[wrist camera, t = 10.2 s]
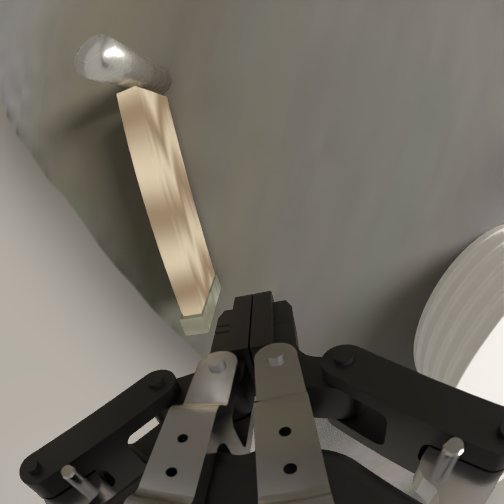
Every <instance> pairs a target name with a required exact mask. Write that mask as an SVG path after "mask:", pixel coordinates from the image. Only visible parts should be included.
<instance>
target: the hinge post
mask: <svg viewBox="0 0 504 504" xmlns="http://www.w3.org/2000/svg"><path fill="white" fill-rule="evenodd" d="M75 67H76V71H77V72H78V74H79V75H80V76H82V77H84V78H88V79H92V80H96V81H100V82H104V83H108V84H111V85H115V86H119V87H122V88H126V89H129V88H132V87H134V86H137V87H140V88H143V89H146V90H149V91H152V92H154V93H157V94H160V95H162V94H164V93H165V92H166V91H167V90H168V89H169V87H170V85H171V75H170V73H169V72H168V71H167V70H166V69H164V68H163V67H161V66H159V65H158V64H156V63H154V62H153V61H151V60H149V59H148V58H146V57H144V56H143V55H141V54H139V53H137V52H136V51H134V50H132V49H130V48H129V47H127V46H125V45H123V44H122V43H120V42H118V41H116V40H114V39H112V38H111V37H109V36H107V35H96V36H93V37H91V38H89V39H88V40H86V41H85V42H84V43H83V44H82V46H81V47H80V49H79V50H78V52H77V55H76V58H75Z"/></svg>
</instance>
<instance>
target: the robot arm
mask: <svg viewBox="0 0 504 504" xmlns="http://www.w3.org/2000/svg"><path fill="white" fill-rule="evenodd" d="M216 327H217V328H216V331H215V335H214V339H213V343H212V348H211V352H210V354H209V355H207V356H205V357H204V358H203V359H202V360H201V361H200V362H199V364H198V366H197V368H196V371H195V373H193V374H190V375H187V376H184V377H180V378H177V379H176V377H175V375H174V374H173V373H172V372H170V371H168V370H157V371H154V372H151V373H149V374H148V375H146V376H145V377H144V378H142V379H140V380H139V381H138V382H136V383H135V384H133V385H132V386H131V387H129V388H128V389H126V390H125V391H124V392H122V393H121V394H119V395H118V396H117V397H115V398H114V399H112V400H111V401H109V402H108V403H107V404H105V405H104V406H102V407H101V408H99V409H98V410H97V411H95V412H94V413H92V414H91V415H89V416H88V417H87V418H85V419H84V420H82V421H81V422H79V423H78V424H76V425H75V426H73V427H72V428H70V429H69V430H67V431H66V432H64V433H63V434H61V435H60V436H58V437H57V438H55V439H54V440H52V441H51V442H49V443H48V444H46V445H45V446H43V447H42V448H40V449H39V450H37V451H36V452H34V453H32V454H31V455H29V456H28V457H27V458H26V459H25V460H24V461H23V463H22V464H21V467H20V478H21V479H22V481H23V482H24V483H25V484H27V485H28V486H29V487H30V488H31V489H33V490H34V491H35V492H36V493H37V494H38V495H39V496H40V497H41V498H43V499H44V500H45V502H46V504H422V503H420V502H419V501H417V500H415V499H414V498H412V497H410V496H409V495H407V494H405V493H404V492H402V491H401V490H399V489H397V488H396V487H394V486H393V485H391V484H389V483H388V482H386V481H385V480H383V479H382V478H380V477H379V476H377V475H376V474H374V473H373V472H371V471H370V470H368V469H367V468H365V467H364V466H362V465H361V464H359V463H358V462H357V461H355V460H353V459H352V458H350V457H348V456H346V455H343V454H340V453H338V452H334V451H330V450H323V449H321V446H320V442H319V438H318V434H317V429H316V425H315V421H314V417H316V418H328V420H329V422H330V423H331V424H332V425H333V426H335V427H336V428H338V429H339V430H341V431H343V432H344V433H346V434H347V435H349V436H350V437H352V438H354V439H355V440H357V441H359V442H360V443H362V444H363V445H365V446H367V447H368V448H370V449H372V450H373V451H375V452H377V453H379V454H380V455H382V456H384V457H385V458H387V459H389V460H391V461H392V462H394V463H396V464H398V465H400V466H401V467H403V468H405V469H407V470H409V471H411V472H412V473H414V477H413V487H414V489H415V491H416V492H417V494H418V495H420V496H421V497H422V498H424V500H425V501H426V502H427V504H485V503H486V501H487V500H488V498H489V496H490V495H491V493H492V491H493V489H494V488H495V486H496V484H497V482H498V480H499V478H500V477H501V476H502V474H503V473H504V406H502V405H499V404H496V403H494V402H491V401H488V400H486V399H483V398H480V397H478V396H475V395H472V394H470V393H467V392H465V391H462V390H460V389H457V388H455V387H452V386H450V385H447V384H445V383H442V382H440V381H437V380H435V379H432V378H430V377H427V376H425V375H423V374H420V373H418V372H415V371H413V370H411V369H408V368H406V367H404V366H401V365H399V364H396V363H394V362H392V361H389V360H387V359H385V358H383V357H380V356H378V355H376V354H373V353H371V352H369V351H367V350H364V349H362V348H360V347H357V346H354V345H339V346H336V347H333V348H331V349H329V350H328V351H327V352H326V353H325V354H324V355H323V357H312V356H308V355H305V354H304V353H302V352H301V351H300V350H299V346H298V338H297V332H296V327H295V322H294V317H293V311H292V306H291V305H290V304H289V303H288V302H287V301H286V300H284V301H278V302H274V300H273V296H272V292H271V291H267V292H262V293H256V294H254V295H253V294H251V295H246V296H240V297H235V300H234V306H233V310H227V311H224V312H223V314H222V315H221V316H220V317H219V318H218V322H217V326H216ZM254 396H256V398H257V401H255V402H254ZM154 417H155V418H156V419H157V420H158V422H159V423H160V424H158V425H157V426H156V427H155V428H153V429H152V430H151V431H149V432H148V433H147V434H146V435H144V436H143V437H142V438H140V439H139V440H138V441H136V442H135V443H133V444H128V439H129V437H130V436H131V435H132V434H133V433H134V432H136V431H137V430H138V429H140V428H141V427H142V426H144V425H145V424H146V423H147V422H149V421H150V420H151V419H153V418H154ZM253 428H254V434H255V452H251V453H250V449H251V442H252V435H253Z"/></svg>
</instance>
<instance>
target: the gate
mask: <svg viewBox="0 0 504 504" xmlns="http://www.w3.org/2000/svg"><path fill="white" fill-rule="evenodd" d="M116 95H117V99H118V104H119V108H120V113H121V117H122V122H123V126H124V130H125V134H126V138H127V142H128V146H129V150H130V154H131V158H132V161H133V165H134V169H135V173H136V176H137V180H138V183H139V187H140V190H141V194H142V197H143V200H144V204H145V207H146V210H147V214H148V217H149V220H150V223H151V226H152V230H153V233H154V236H155V239H156V242H157V245H158V248H159V251H160V254H161V257H162V260H163V263H164V265H165V268H166V271H167V274H168V277H169V280H170V282H171V285H172V288H173V291H174V293H175V296H176V299H177V301H178V304H179V307H180V309H181V312H182V315H181V318H180V322H181V325H182V327H183V330H184V332H185V334H186V335H194V334H202V333H208V332H209V329H210V325H211V322H212V318H213V314H214V311H215V307H216V304H217V300H218V297H219V293H220V289H221V286H220V283H219V279H218V276H217V274H215V273H214V269H213V266H212V263H211V259H210V256H209V253H208V249H207V246H206V243H205V239H204V236H203V232H202V229H201V225H200V222H199V218H198V215H197V211H196V208H195V204H194V200H193V197H192V193H191V189H190V186H189V182H188V178H187V175H186V171H185V167H184V163H183V159H182V156H181V152H180V148H179V144H178V140H177V136H176V132H175V128H174V124H173V120H172V116H171V112H170V108H169V104H168V99H167V97H166V96H163V95H160V94H157V93H154V92H152V91H149V90H146V89H143V88H140V87H137V86H134V87H132V88H129V89H127V90H125V91H122V92H120V93H117V94H116Z"/></svg>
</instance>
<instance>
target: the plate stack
mask: <svg viewBox="0 0 504 504" xmlns="http://www.w3.org/2000/svg"><path fill="white" fill-rule="evenodd" d="M414 362H415V366H416V369H417V372H418V373H420V374H423V375H425V376H427V377H430V378H432V379H435V380H437V381H440V382H442V383H445V384H447V385H450V386H452V387H455V388H457V389H460V390H462V391H465V392H467V393H470V394H472V395H475V396H478V397H480V398H483V399H486V400H488V401H491V402H494V403H496V404H499V405H502V406H504V224H502V225H499V226H497V227H495V228H493V229H491V230H489V231H487V232H486V233H484V234H482V235H481V236H480V237H478V238H477V239H476V240H474V241H473V242H472V243H471V244H470V245H469V246H468V247H467V248H466V249H465V250H464V251H462V253H461V254H460V255H459V256H458V257H457V258H456V259H455V260H454V261H453V263H452V264H451V265H450V266H449V268H448V269H447V270H446V272H445V273H444V274H443V276H442V277H441V279H440V280H439V282H438V283H437V285H436V287H435V288H434V290H433V292H432V294H431V295H430V297H429V299H428V301H427V303H426V305H425V308H424V310H423V312H422V315H421V317H420V320H419V323H418V327H417V330H416V334H415V340H414Z"/></svg>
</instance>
